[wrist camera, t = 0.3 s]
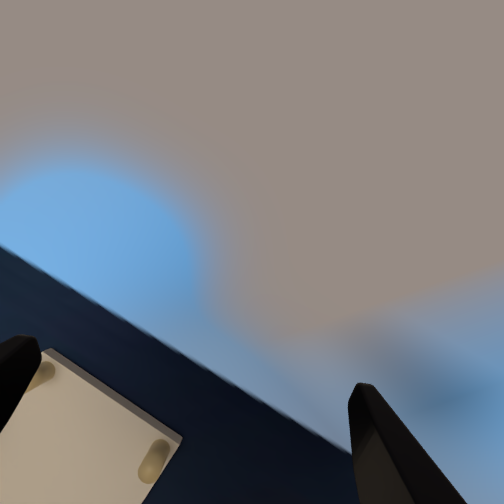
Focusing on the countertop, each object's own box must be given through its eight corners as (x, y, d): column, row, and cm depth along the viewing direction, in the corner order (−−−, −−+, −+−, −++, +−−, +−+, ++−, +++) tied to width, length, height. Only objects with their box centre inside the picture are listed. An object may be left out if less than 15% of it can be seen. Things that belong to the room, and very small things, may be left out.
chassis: (182, 437, 23) (170, 467, 19) (89, 579, 22) (60, 638, 19) (51, 347, 23) (16, 362, 20) (-45, 486, 22) (-99, 526, 19)
